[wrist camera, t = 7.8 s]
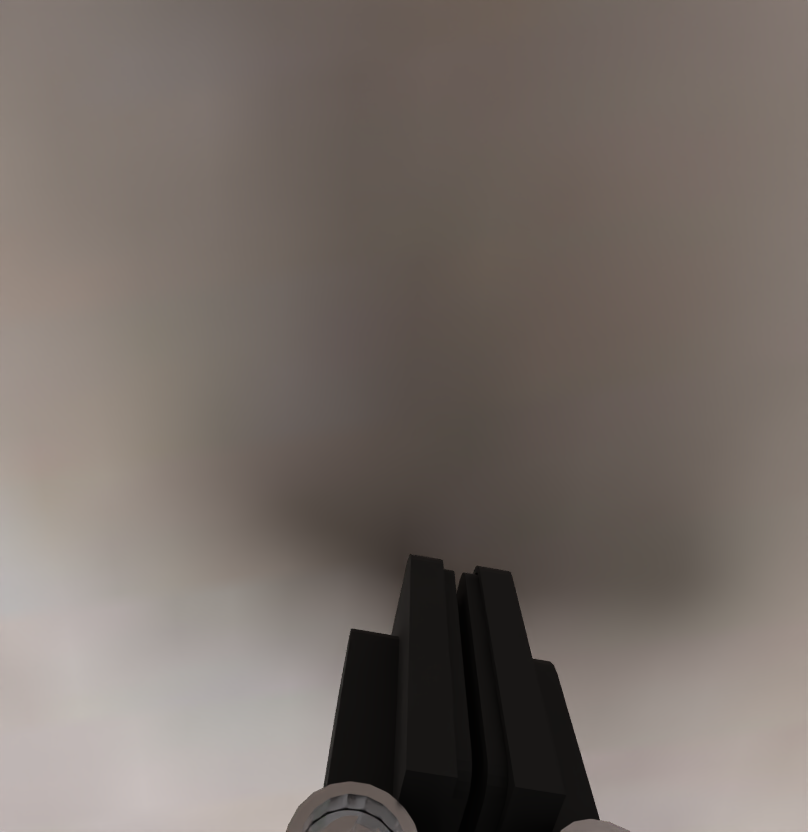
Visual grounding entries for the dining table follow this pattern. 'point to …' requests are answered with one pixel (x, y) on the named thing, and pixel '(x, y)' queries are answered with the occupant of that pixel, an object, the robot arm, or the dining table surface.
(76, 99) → the dining table surface
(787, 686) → the dining table surface
